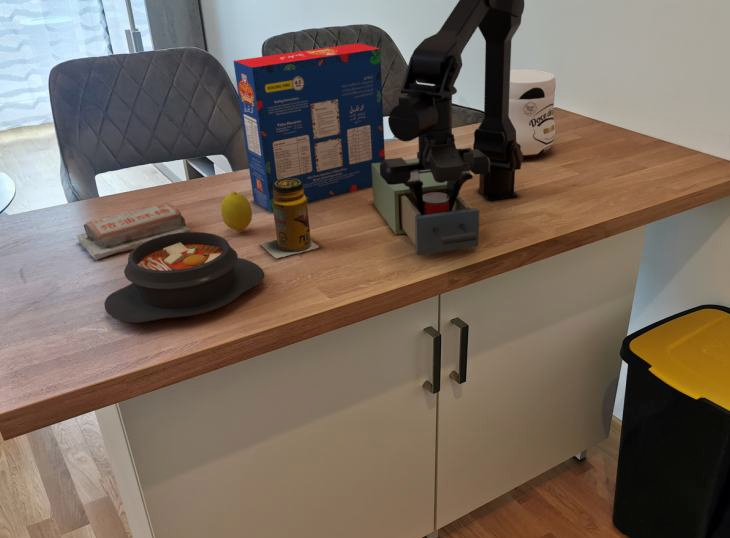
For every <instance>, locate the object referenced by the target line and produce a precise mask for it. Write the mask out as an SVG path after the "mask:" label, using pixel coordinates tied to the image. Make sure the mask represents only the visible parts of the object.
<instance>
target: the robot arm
mask: <svg viewBox="0 0 730 538" xmlns="http://www.w3.org/2000/svg"><path fill="white" fill-rule="evenodd" d="M524 10H525V0H459V1H457V3H456V5H455V6H454V8H452V10H451V12H450V13H449V15H448V16H447V18H446V20H445V21H444V23H443V24H442V26H441V27H440V29H439V30H438V32H436V33H435V34H432V35H430V36H428V37H426V38H424V39H423V40H422V41H421V42H420V43H419V44H418V45H417V47H415V49H414V50H413V52H412V54H411V56H410V58H409V61H408V65H407V68H406V71H405V74H404V78H403V81H402V85H401V88H400V94H402V95H400V96H398V104H397V105H396V106H394V107H393V108H392V109H391V110H390V112H389V116H388V117H387V123H388V128H389V130H390V132H391V134H392V135H393V136H394V137H395V138H396V139H398V140H399V141H401V142H405V143H406V142H411V141H413V140H415V139H417V140H418V151H417V152H416V158H418V159H419V162H416V163H406V162H405V161H404V160H405V159H404V158H403V157H395V158H385V160H383V161H382V162H381V164H380V175H381V176H382V178H383V179H384V180H385V181H386V182H387V184H390V185H395V184H403V183H404V185H405V186H407V187H409V189H410V191H411V193H412V195H413V198H414V200H415V203H416V205H417V208H418V210H419V212H420V213H421V215H423V213H424V206H423V196H422V186H423V182H422V181H421V180H420V179H419V174H420V173H428V172H431V173H432V175H433V178H434V180H435V181H436V182H438V183H443V182H445V181H447V195H449V197H450V207H449V212H450V211H452V209H453V206H454V203H455V201H456V198H457V195H458V193H459V194H460V191H461V189H462V187H463V185H464V184H465V183H466V182H467V181H468V180H472V179H473V177H474V176H476V175H479V179H478V181H479V183H478V189H477V190H478V192H479V193H480V194H481V195H482V196H484V197H485V198H486V199H487V200H488V201H495V200H503V199H511V198H517V197H518V194H517V192H515V183H516V182H515V179H516V171H519V170H521V169H522V164H523V161H524V160H523V159H524V158H523V154H522V152H521V150H520V148H519V146H518V144H517V142H516V130H515V128H514V126H513V124H512V122H511V120H510V119H509V90H510V69H511V63H512V61H511V60H512V40H513V38H514V36H515V35H516V33H517V31H518V30H519V28H520V26H521V25H522V15H523V14H524ZM477 29H479V31H480V33H481V35H482V37H483V39H484V41H485V48H484V49H485V50H484V51H485V53H484V98H483V99H484V103H483V104H484V107H483V119H482V121H481V123H480V124H479V126H478V128H476V129H475V130H474V132H473V137H474V139H473V140H474V141H473V144H472V147H473V148H471V147H467V148H457V146H456V144H455V143H456V140H455V134H454V133H453V95H456V94H457V93H458V90H457V88H456V87H455V83H456V81H457V79H458V78H459V75H460V73H461V69H462V68H463V60H462V54H463V51H464V50H465V48H466V47H467V45H468V43H469V41H470V40H471V39H472V37H473V36H474V33H475V32H476V31H477ZM416 82H417V83H416ZM473 175H474V176H473Z"/></svg>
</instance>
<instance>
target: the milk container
mask: <svg viewBox="0 0 730 538" xmlns="http://www.w3.org/2000/svg"><path fill="white" fill-rule="evenodd" d="M555 91H556V75H554V74H553V73H552V72H549V71H545V70H540V69H532V68H531V69H530V68H510V90H509V119H510V120H511V122H512V124H513V126H514V128H515V130H516V142H517V144H518V146H519V148H520V150H521V152H522V154H523V159H525V158H535V157H539V156H542V155H544V154H546V153H548V152H550V151H551V150H552V148H553V146H554V143H555V138H556V124H555V118H554V107H555V106H554V105H555V97H556V94H555Z"/></svg>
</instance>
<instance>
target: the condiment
mask: <svg viewBox="0 0 730 538" xmlns="http://www.w3.org/2000/svg"><path fill="white" fill-rule="evenodd" d="M272 187H273V195H274V197H273V199H272V205H273V220H274V227H275V234H276V239H275V240H271V241H266V242H265V241H264V242H261V243H260V245H261V246H262V247H263V249H265V251H267V252H268V253H269V254H270V255H271V256H273V258H275V259H280V258H284V257H286V256H291V255H295V254H301V253H304V252H309V251H313V250H317V249H319V248H320V246H319V245H318V244H316V243H315V242H313V241H312V239H311V229H310V220H309V219H310V218H309V210H308V203H307V200H306V196H305V195H304V191H303V184H302V182H301V181H300V180H298V179H293V178H292V179H291V178H288V179H281V180H277V181H276V182H274V184H273V186H272Z"/></svg>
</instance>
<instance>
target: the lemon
mask: <svg viewBox="0 0 730 538" xmlns="http://www.w3.org/2000/svg"><path fill="white" fill-rule="evenodd" d="M220 207H221V208H220V213H221V217H222V220H223V223H224V224H225V225H226V226H227V227H228V228H229V229H231V230H235V231H236V232H238V233H242V231H243V230H245V229H246V228H247V227H249V226H250V224H251V223H252V218H253V210H252V206H251V204H250V202H249V200H248V198H247V197H246V196H245V195H243V194H241V193H239V192H236V191H231V193H229V194H226V196H225V197H224V198H223V199H222V202H221V206H220Z"/></svg>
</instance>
